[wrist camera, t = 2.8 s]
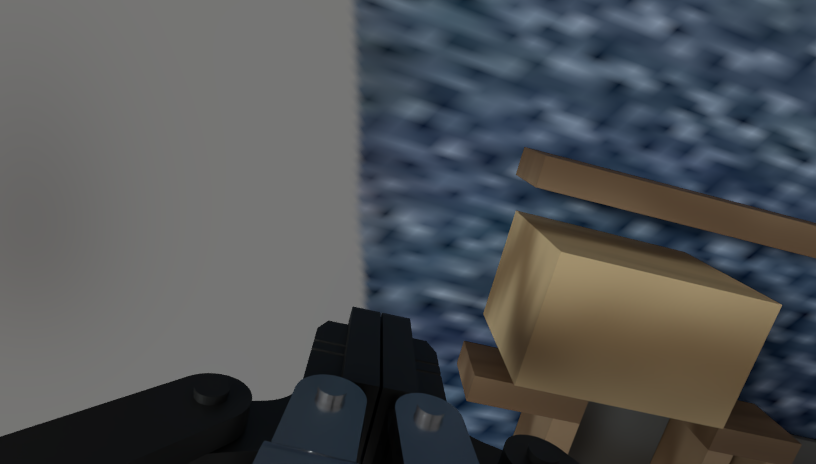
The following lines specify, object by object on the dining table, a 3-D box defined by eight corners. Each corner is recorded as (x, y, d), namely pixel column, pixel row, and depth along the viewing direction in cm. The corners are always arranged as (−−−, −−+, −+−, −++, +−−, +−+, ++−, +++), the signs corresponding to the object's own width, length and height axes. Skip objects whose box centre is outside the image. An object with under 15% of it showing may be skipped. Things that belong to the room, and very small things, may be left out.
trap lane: (524, 147, 21) (545, 155, 18) (1090, 294, 24) (1185, 322, 21) (422, 474, 25) (426, 523, 23) (916, 567, 28) (975, 621, 26)
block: (515, 210, 22) (560, 251, 16) (682, 251, 23) (782, 304, 17) (482, 313, 23) (514, 385, 18) (642, 348, 24) (723, 429, 18)
